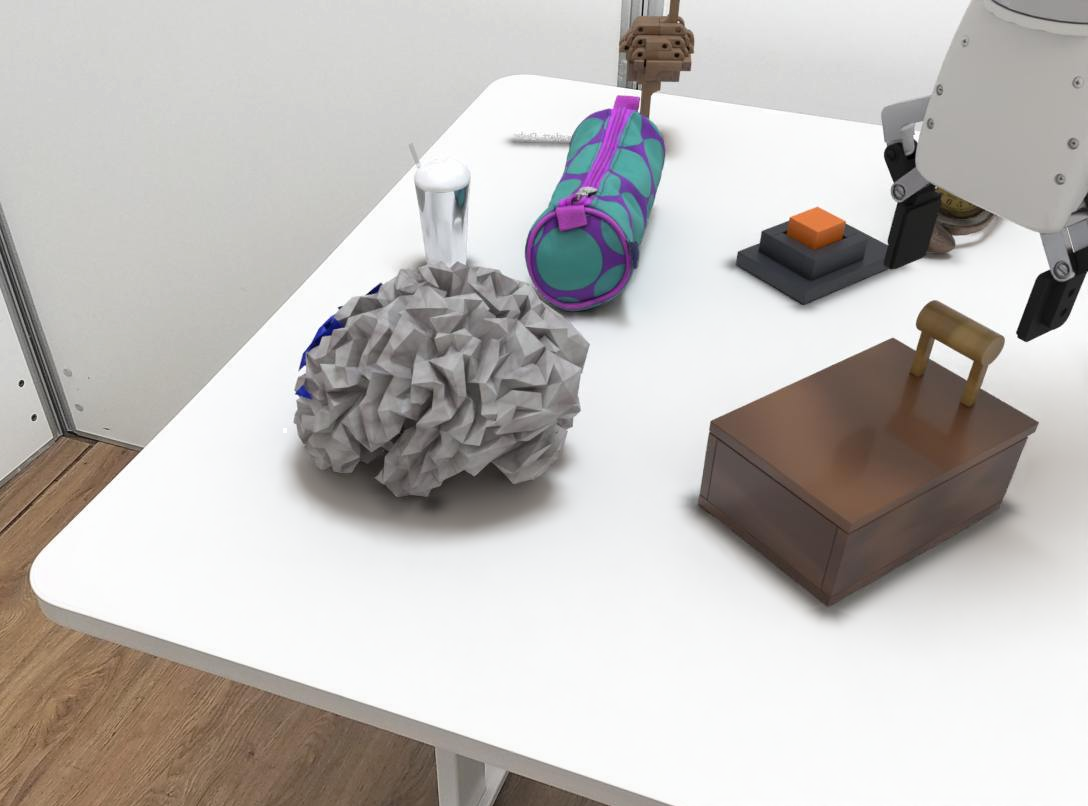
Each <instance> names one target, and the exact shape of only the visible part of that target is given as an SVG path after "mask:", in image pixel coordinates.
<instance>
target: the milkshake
mask: <svg viewBox="0 0 1088 806" xmlns="http://www.w3.org/2000/svg"><path fill="white" fill-rule="evenodd" d="M408 147H409V150H410V153H411V155H412V158H413V161H414V163H415V167H416V169H417V170H416V171H414V175H413V182H414V188H415V193H416V194H415V195H416V199H417V206H418V212H419V219H420V226H421V234H422V242H423V249H424V256H425V263H426V264H425V265H427V264H430V263H431V264H432V265H433V264H435V263H438V262H441V261H442V262H443V263H444V264H445V265H446V266H447V267H448V268H451V267H452V266H453V265H454V264H455V263H456V262H457V261H458V262H460V263H462V264H464V265H466V266H467V253H468V231H469V211H470V210H469V208H470V196H471V195H470V194H471V183H472V181H471V179H472V176H471V171H470V169H469V168H468V167H467V166H466V165H465V164H464V163H462V162H461V161H459V160H457V159H456V158H454V157H447V158H443V159H442V158H441V159H440V158H436V159H433V160H431V161H429V162H426V163H423V164H421V163H420V160H419V157H418V154H417V152H416V149H415V146H414V144H413V143H412V142H411V143H409V144H408Z"/></svg>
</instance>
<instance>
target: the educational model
mask: <svg viewBox="0 0 1088 806" xmlns="http://www.w3.org/2000/svg"><path fill="white" fill-rule="evenodd" d="M417 273H418V274H417ZM417 273H416V272H415V271H413V270H411V269H410V268H400V269H399V270H398V273H397V275H396V276H394V277H392V278H391V279H389V280H388V281H386V282H384V283H383V282H379V283H378V284H377V285H375V286H374V287H372V288H371V289H370V290H369V291H368V292H367V293H366V294H364V295H357V296H351V298H350V299H348V301H346V303H344V305H341V306H337V309H338V310H337V311H336V312H335V313H334V314H332V315H331V316H329V317H328V318H327V320H325V322H323V323H322V324H321V326H319V328H318V329H317V331H316V333H315V334H314V337H313V338H312V341H311V342H310V344H308V346H307V348H306V349H305V350H304V352H302V355H301V359H300V363H299V366H298V370H297V372H300V371H301V370H302V369H303V368H304V367H305V373H303V374H301V375H299V376H298V377H297V379H296V382H295V386H294V392H295V393H294V395H295V396H298V397H299V398H297V399H296V401H295V402H296V407H297V409H296V411H295V413H294V416H293V421H292V423H293V424H294V425H295V426H296V431H297V436H298V437H299V439H300V441H301V442H302V444H303V445H304V446H303V448H304V450H305V452H306V454H307V455H308V456H310V457H311V461H312V463H313V465H314V466H315V467H317V468H318V469H320V470H321V471H324V470H326V469H329V468H331V467H332V472H334V473H335V472H336V473H340V474H352V473H353V471H354V470H355V469H356V467H357V465H358V464H359V462H360V461H362V462H364V463H366V464H367V465H368V464H369V463H371V462H372V461H374V459H375V458H377V457H378V456H379V455H381V453H383V452H384V451H385V450H386V451H388V452H387V453H386V455H385V456H384V462H383V463H384V464H383V467H382V469H381V470H380V471H379V473H378V474H377V475H376V476H374V477H373V479H374V480H376V481H378V482H379V483H380V484H382V485H385V486H386V487H387V489H388V490H389V491H390V492H391V493H392V494H393V495H394V496H395V497H396V498H402V497H408V496H417V497H426V498H429V496H430V494H431V491H432V490H433V489H435V488H438V487H441V486H442V484H443V482H444V481H445V480H447V479H450V478H451V477H453V476H456V475H458V474H460V473H462V472H464V471H465V472H466V473H468V474H470V475H472V476H473V477H476V476H477V475H478V474H479V473H480V472H481V471H482V470H483V469H484V468H485V467H487V466H488V465H489V464H490V463H491V464H493V465H495V466H496V467H497V468H498V469H499V470H500V471H501V472H502V474H503V475H504V476H505V477H506V478H507V479H508V480H509V481H510V482H511V483H512V484H513V485H516V484H520V483H523V482H527V481H534V480H536V479H537V478H539V477H540V476H541V475H542V474H543V473H545V472H546V471H547V470H549V469H550V468H551V466H552V464H553V463H554V462H555V461H557V460H558V459H559V453H558V451H560V450H563V448H564V446H565V442H566V439H567V435H568V431H569V429H571V428H573V427H574V418H575V417H576V416H577V415H578V414H580V412H581V411H582V408H581V404H580V403H581V402H580V397H579V390H580V382H581V376H582V374H583V373H584V367H585V364H586V360H587V357H588V353H589V350H590V346H591V343H590V342H589V340H587V339H586V338H585V337H584V336H583V335H582V333H581V332H580V330H578V329H577V328H576V327H575V326H574V324H572V322H571V321H569V320H568V319H567V318H565V316H563V315H562V314H561V313H559V312H557V310H555V309H553V308H552V307H551V306H549V305H548V304H546V303H545V302H544V301H543V300H541V299H540V297H539V296H538V294H537V292H536V291H535V289H534V287H532V286H531V285H530V284H529V282H526V281H522V280H517V279H515V278H511V277H509V276H507V275H504V274H503V273H502V271H501V270H500V269H496V268H490V267H484V266H475V267H470V266H469V265H467V264H466V265H464V264H462V263H460V262H458V261H457V262H456V263H455V264H454V265H453V266H452V267H451V268H448V267H447V266H446V265H445V264H444V263H443V262H442V261H441V262H438V263H435V264H433V265H432V264H431V263H430V264H425V265H422V266H420V267H417Z"/></svg>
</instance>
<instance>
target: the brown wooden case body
mask: <svg viewBox="0 0 1088 806" xmlns="http://www.w3.org/2000/svg"><path fill="white" fill-rule="evenodd" d="M707 435H708V436H707V441H706V449H705V454H704V455H705V456H704V462H703V467H702V474H701V482H700V488H699V495H698V501H697V504H698V505H699V506H701V507H702V508H703V509H704V510H706V511H707V512H708V513H710V514H711V515H712V516H713V517H714V518H716V519H717V520H718V521H719V522H720V523H722V524H723V525H724V526H726V527H727V528H728V529H729V530H731V531H732V532H733V533H734V534H736V535H737V536H738V537H739V538H741V539H742V540H743V541H745V542H746V543H747V544H748V545H749V546H751V547H752V548H753V549H754V550H756V551H757V552H758V553H759V554H761V556H763V557H764V558H766V559H767V560H768V561H769V562H771V563H772V564H773V565H774V566H776V567H777V568H778V569H779V570H781V571H782V572H783V573H784V574H785V575H787V576H788V577H789V578H791V579H792V580H793V581H795V582H796V583H797V584H798V585H799V586H800V587H802V589H805V590H806V591H807V592H808V593H809V594H811V595H812V596H813V597H815V598H816V599H817V600H818V601H819V602H821V603H822V604H823V605H825V606H826V607H827V608H829V607H830V606H832V605H835V604H836V603H837V602H839V601H842V599H844V598H846V597H848V596H850V595H852V594H854V592H856V591H858V590H860V589H862V588H864V587H866V586H867V585H869V584H870V583H872V582H874V581H876V580H877V579H879V578H882V577H883V576H885V575H886V574H889V573H890V572H891V571H893V570H895V569H897V568H899V567H900V566H902V565H904V564H906V563H907V562H910V561H911V560H912V559H914V558H916V557H918V556H919V555H921V554H923V553H925V552H926V551H928V550H930V549H932V548H934V547H936V546H937V545H938V544H941V543H942V542H944V541H946V540H947V539H950V538H951V537H953V536H954V535H956V534H958V533H961V532H962V531H963V530H965V529H966V528H969V527H970V526H972V525H974V524H976V523H977V522H979V521H981V520H982V519H984V518H986V517H988V516H990V515H991V514H994V513H995V512H996V511H998V510H1000V509H1001V507H1002V504H1003V501H1004V498H1005V496H1006V493H1007V491H1008V488H1009V486H1010V484H1011V481H1012V479H1013V476H1014V474H1015V471H1016V469H1017V466H1018V464H1019V461H1020V460H1021V456H1022V453H1023V451H1024V448H1025V446H1026V444H1027V441H1028V439H1029V436H1027V437H1026V438H1024V439H1022V440H1020V441H1018V442H1016V443H1015V444H1013V445H1011V446H1009V447H1007V448H1005V449H1004V450H1002V451H1000V452H998V453H996V454H994V455H992V456H991V457H989V458H987V459H985V460H983V461H981V462H980V463H978V464H976V465H974V466H972V467H970V468H968V469H967V470H965V471H963V472H961V473H959V474H957V475H956V476H954V477H952V478H950V479H948V480H946V481H944V482H943V483H941V484H939V485H937V486H935V487H933V488H932V489H930V490H928V491H926V492H924V493H922V494H920V495H919V496H917V497H915V498H913V499H911V500H909V501H908V502H906V503H904V504H902V505H900V506H898V507H897V508H895V509H893V510H891V511H889V512H887V513H885V514H884V515H882V516H880V517H878V518H876V519H874V520H873V521H871V522H869V523H867V524H865V525H863V526H861V527H860V528H858V529H856V530H854V531H852V532H850V533H847V532H846V531H844V530H843V529H841V528H840V527H839V526H837V525H836V524H835V523H833V522H832V521H831V520H829V519H828V518H827V517H825V516H824V515H822V514H821V513H820V512H818V511H817V510H816V509H814V508H813V507H812V506H810V505H809V504H808V503H806V502H805V501H803V500H802V499H801V498H799V497H798V496H797V495H795V494H794V493H793V492H791V491H790V490H788V489H787V488H786V487H784V486H783V485H782V484H780V483H779V482H778V481H776V480H775V479H774V478H772V477H771V476H769V475H768V474H767V473H765V472H764V471H763V470H761V469H760V468H759V467H757V466H756V465H755V464H753V463H752V462H750V461H749V460H748V459H746V458H745V457H744V456H742V455H741V454H740V453H738V452H737V451H735V450H734V449H733V448H731V447H730V446H729V445H727V444H726V443H725V442H723V441H722V440H721V439H719V438H718V437H716V436H715V435H714V434H712V433H711V432H710V431H709V432H708V434H707Z"/></svg>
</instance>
